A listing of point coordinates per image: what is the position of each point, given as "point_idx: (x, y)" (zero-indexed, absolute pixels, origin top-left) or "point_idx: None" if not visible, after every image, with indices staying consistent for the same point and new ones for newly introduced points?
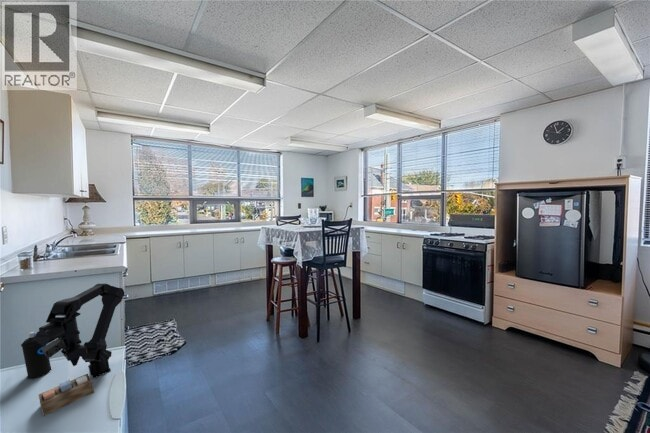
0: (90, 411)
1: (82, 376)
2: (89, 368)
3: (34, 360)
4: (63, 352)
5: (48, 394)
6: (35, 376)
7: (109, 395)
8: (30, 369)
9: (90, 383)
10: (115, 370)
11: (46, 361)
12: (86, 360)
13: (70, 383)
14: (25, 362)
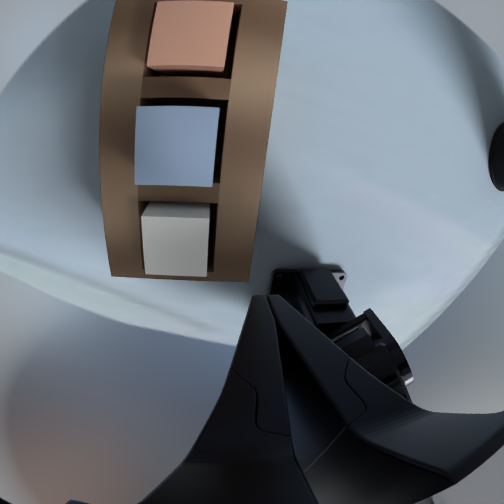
0: (9, 195)
1: (205, 259)
2: (320, 295)
3: None
4: (442, 488)
5: (161, 27)
6: (500, 135)
7: (60, 272)
8: None
9: (112, 263)
10: None
11: None
12: (369, 320)
13: (135, 177)
14: None
